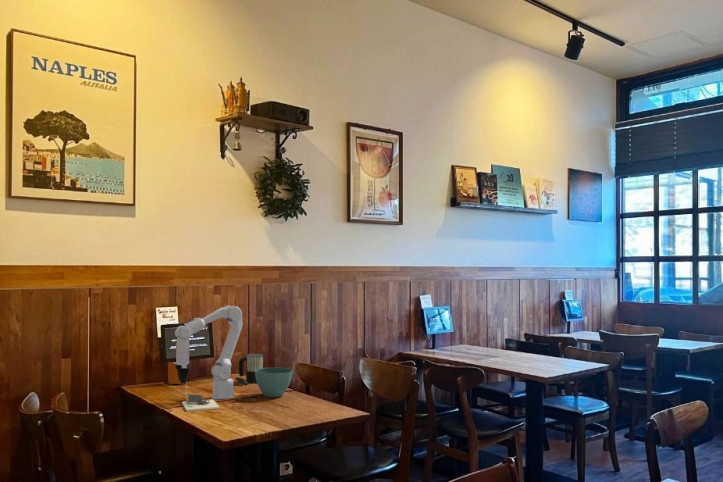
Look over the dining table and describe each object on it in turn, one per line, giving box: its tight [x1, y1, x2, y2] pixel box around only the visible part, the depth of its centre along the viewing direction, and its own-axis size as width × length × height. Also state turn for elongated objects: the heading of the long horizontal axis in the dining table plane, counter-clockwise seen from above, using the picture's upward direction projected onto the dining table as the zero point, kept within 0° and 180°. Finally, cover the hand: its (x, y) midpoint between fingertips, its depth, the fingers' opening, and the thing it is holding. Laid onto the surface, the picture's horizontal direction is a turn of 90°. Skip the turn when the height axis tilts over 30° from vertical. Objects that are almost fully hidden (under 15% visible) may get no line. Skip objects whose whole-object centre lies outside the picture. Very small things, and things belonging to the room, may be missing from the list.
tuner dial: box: [185, 393, 210, 404], centre depth 270 cm, size 11×5×3 cm, turn 83°
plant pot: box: [255, 367, 294, 398], centre depth 293 cm, size 18×18×12 cm
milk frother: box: [234, 353, 264, 386], centre depth 326 cm, size 14×16×15 cm
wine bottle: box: [167, 361, 188, 385], centre depth 323 cm, size 10×10×30 cm
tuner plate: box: [181, 398, 220, 412], centre depth 269 cm, size 14×17×1 cm
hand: (182, 381), depth 276 cm, fingers open, 7 cm apart
